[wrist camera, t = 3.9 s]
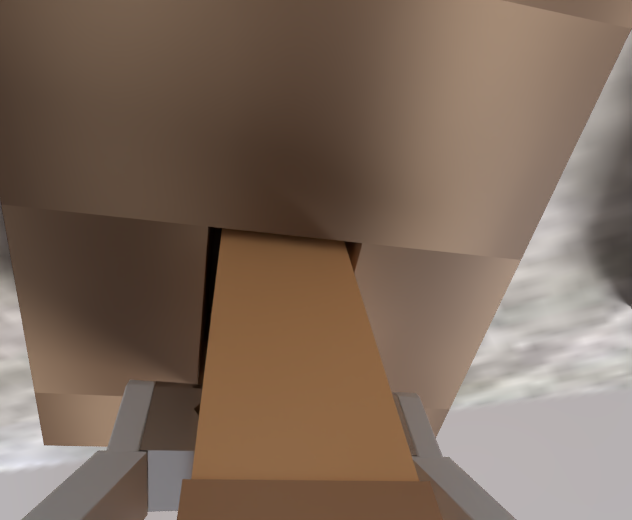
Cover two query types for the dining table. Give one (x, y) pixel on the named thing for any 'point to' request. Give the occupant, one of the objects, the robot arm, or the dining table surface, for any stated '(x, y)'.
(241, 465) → the orange plug
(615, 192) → the dining table surface
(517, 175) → the block
